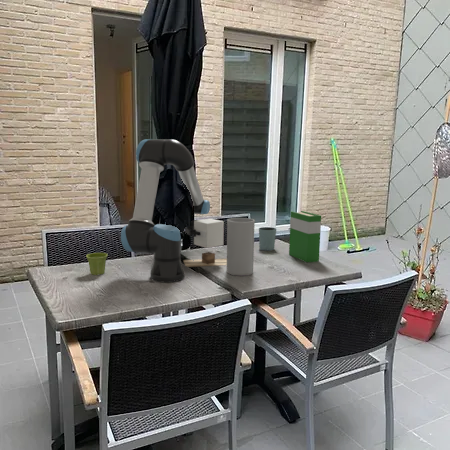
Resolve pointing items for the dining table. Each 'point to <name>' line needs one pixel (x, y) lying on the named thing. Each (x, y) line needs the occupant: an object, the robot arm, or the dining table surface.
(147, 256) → the dining table surface
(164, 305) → the dining table surface
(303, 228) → the hardback book
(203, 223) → the white cover
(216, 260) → the wooden cutting board
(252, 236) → the cylinder vase
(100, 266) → the plant pot
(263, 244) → the grey-blue cup
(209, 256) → the walnut block
